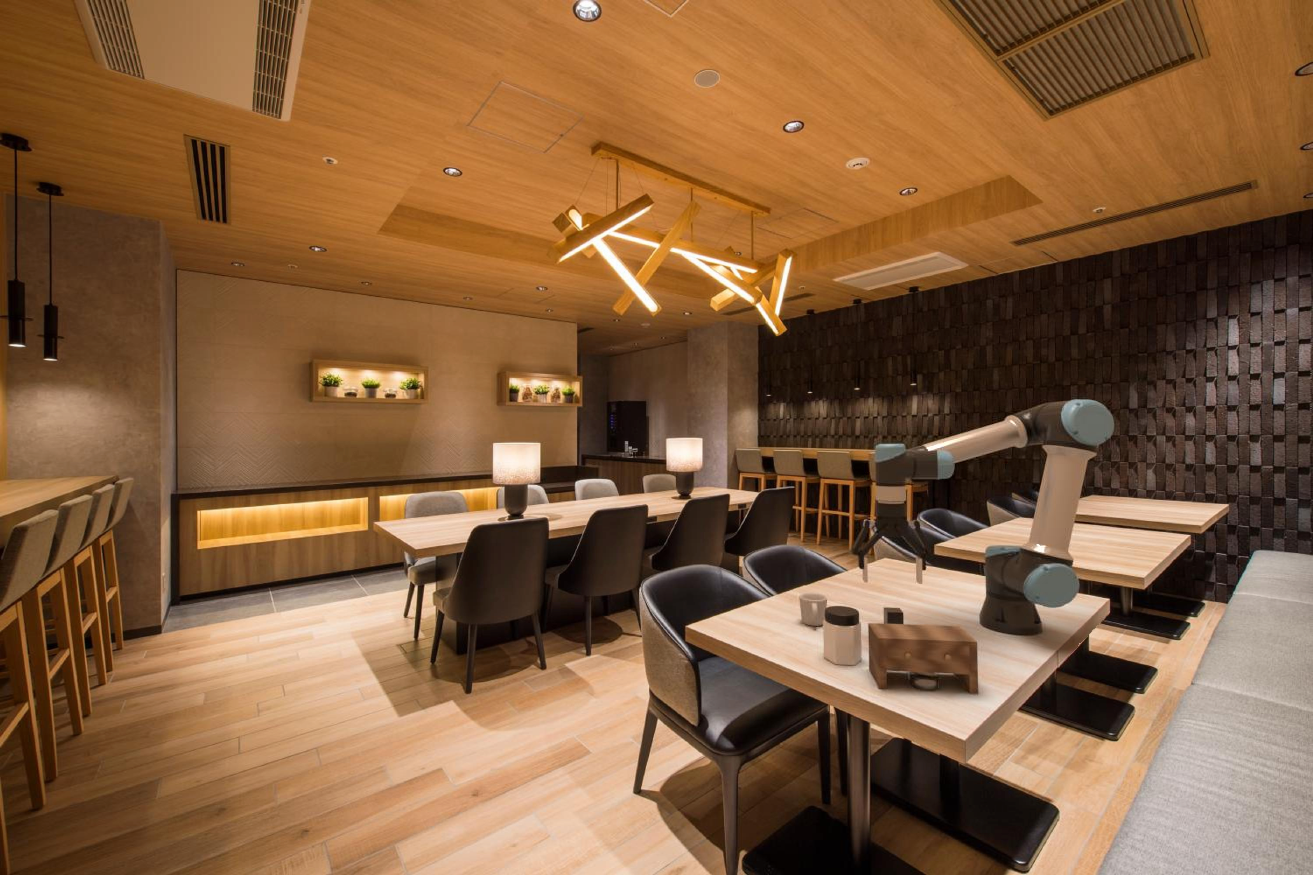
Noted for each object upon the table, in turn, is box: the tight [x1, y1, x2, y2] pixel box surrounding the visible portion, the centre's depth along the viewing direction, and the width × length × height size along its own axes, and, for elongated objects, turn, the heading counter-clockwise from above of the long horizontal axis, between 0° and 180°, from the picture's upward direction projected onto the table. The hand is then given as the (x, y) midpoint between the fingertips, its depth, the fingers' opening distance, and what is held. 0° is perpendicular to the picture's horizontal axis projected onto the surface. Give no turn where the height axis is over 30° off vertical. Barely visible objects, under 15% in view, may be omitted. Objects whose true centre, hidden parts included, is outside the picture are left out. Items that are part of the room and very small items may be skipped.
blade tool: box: [883, 606, 905, 624], centre depth 139 cm, size 4×19×9 cm, turn 171°
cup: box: [798, 592, 828, 627], centre depth 163 cm, size 11×8×8 cm
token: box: [907, 672, 940, 692], centre depth 122 cm, size 6×6×2 cm
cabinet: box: [867, 622, 979, 695], centre depth 124 cm, size 20×11×11 cm, turn 81°
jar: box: [822, 605, 863, 666], centre depth 137 cm, size 9×8×12 cm
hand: (892, 581), depth 147 cm, fingers open, 13 cm apart
